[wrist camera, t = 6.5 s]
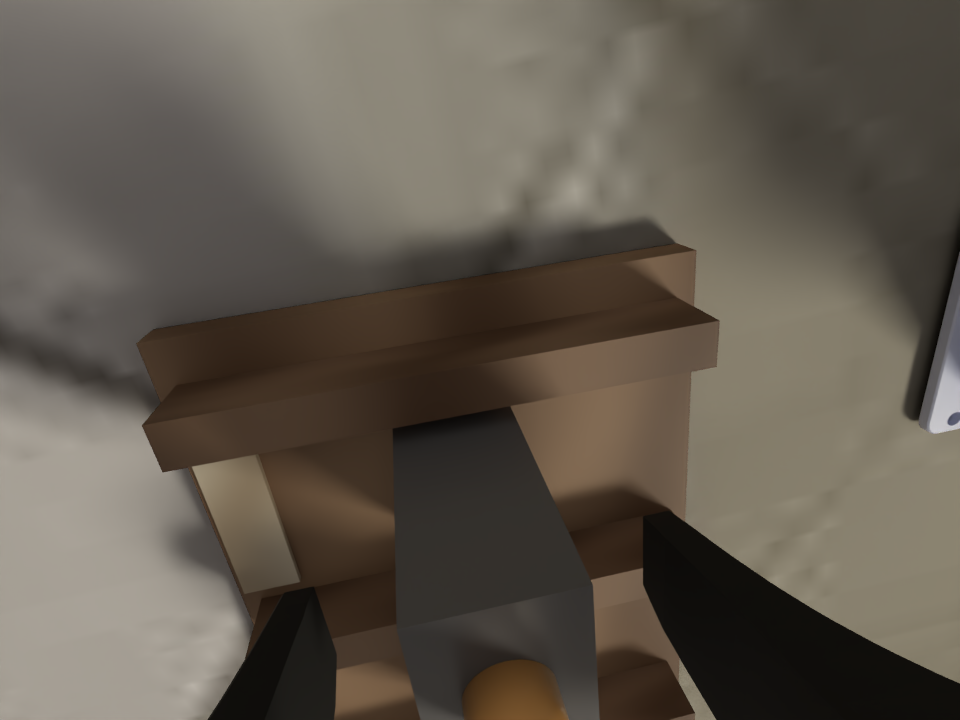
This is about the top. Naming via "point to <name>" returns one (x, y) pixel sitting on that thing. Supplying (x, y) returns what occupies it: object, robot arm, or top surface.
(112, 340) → the top surface
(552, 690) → the charcoal plug
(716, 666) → the robot arm
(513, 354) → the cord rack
